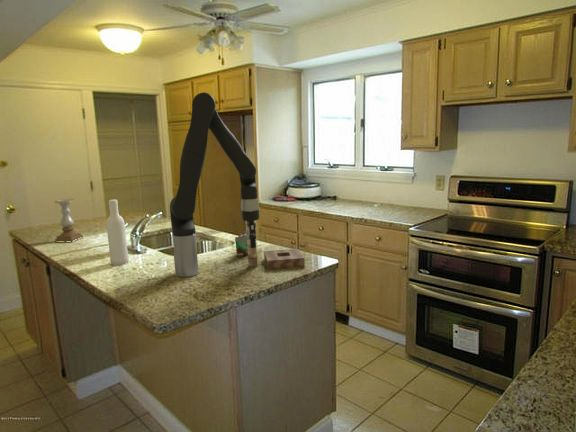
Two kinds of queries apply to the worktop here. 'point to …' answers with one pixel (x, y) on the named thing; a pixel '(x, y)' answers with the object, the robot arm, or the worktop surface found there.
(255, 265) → the dowel
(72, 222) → the candle holder
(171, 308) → the worktop surface
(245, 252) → the food container
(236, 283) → the worktop surface
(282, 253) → the socket block
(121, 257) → the bottle
